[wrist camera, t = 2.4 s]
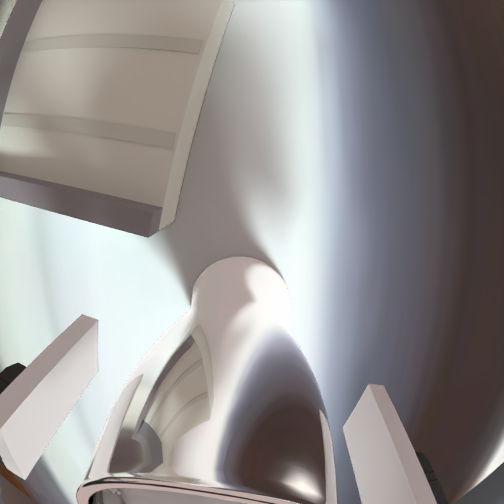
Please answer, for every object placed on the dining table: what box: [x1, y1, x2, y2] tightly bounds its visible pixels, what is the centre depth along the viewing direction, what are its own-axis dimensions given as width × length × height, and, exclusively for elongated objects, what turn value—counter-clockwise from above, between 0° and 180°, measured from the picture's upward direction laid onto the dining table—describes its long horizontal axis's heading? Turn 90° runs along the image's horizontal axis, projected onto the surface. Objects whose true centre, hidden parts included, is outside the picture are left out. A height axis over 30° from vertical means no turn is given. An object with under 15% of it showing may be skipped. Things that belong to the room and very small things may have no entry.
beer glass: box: [76, 256, 338, 504], centre depth 12 cm, size 7×7×15 cm
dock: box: [0, 0, 234, 238], centre depth 14 cm, size 14×14×4 cm
